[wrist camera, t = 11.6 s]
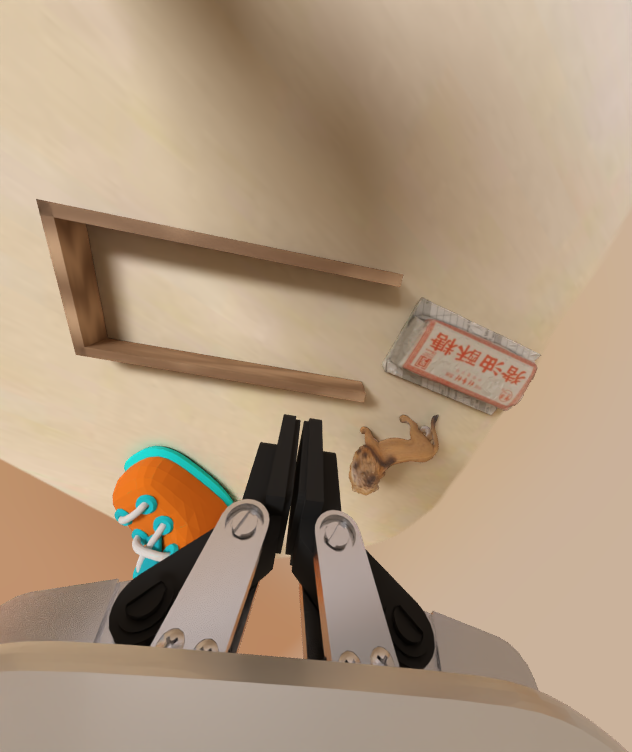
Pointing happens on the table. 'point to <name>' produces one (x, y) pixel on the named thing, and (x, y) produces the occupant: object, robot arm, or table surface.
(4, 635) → the robot arm
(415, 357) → the packaged product
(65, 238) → the open-ended wooden frame
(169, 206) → the table surface
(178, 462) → the toy shoe
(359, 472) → the lion figurine
